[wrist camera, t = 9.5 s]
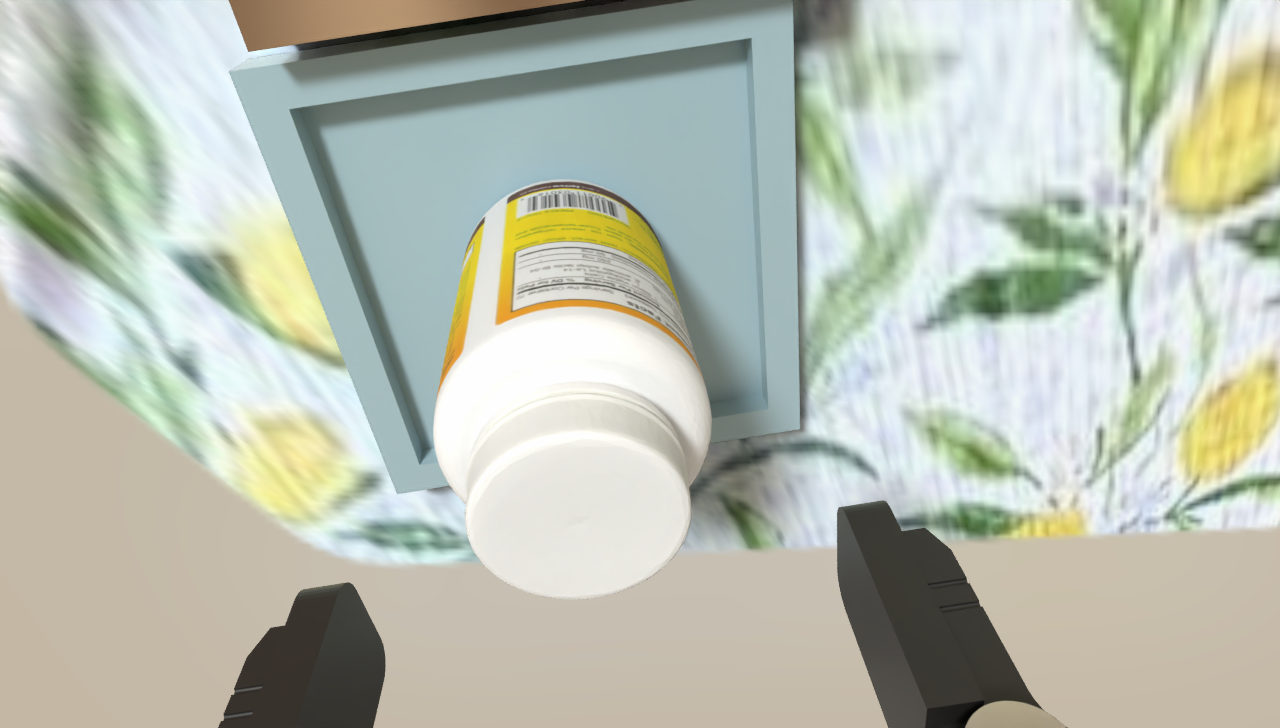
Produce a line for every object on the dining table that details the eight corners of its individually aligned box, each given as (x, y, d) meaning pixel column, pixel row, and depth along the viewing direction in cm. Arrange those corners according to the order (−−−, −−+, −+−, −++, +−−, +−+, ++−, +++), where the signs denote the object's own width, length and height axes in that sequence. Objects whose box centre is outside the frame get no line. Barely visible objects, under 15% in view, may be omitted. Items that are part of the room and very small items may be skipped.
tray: (777, -23, 19) (792, -15, 18) (788, 403, 26) (800, 429, 25) (248, 58, 19) (228, 71, 18) (404, 465, 26) (397, 494, 25)
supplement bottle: (542, 380, 24) (540, 670, 16) (422, 242, 21) (340, 502, 13) (698, 289, 23) (790, 546, 14) (594, 129, 20) (631, 332, 12)
